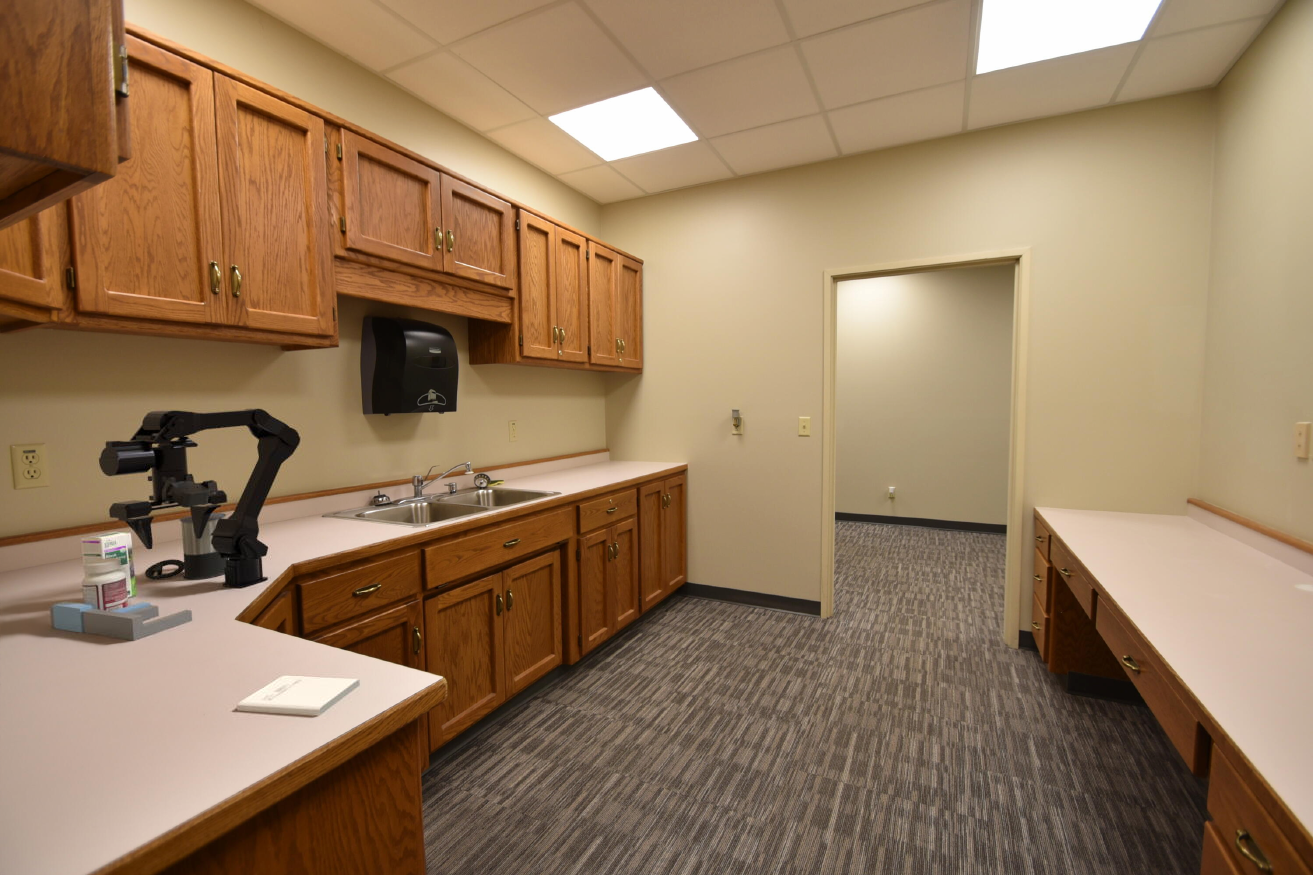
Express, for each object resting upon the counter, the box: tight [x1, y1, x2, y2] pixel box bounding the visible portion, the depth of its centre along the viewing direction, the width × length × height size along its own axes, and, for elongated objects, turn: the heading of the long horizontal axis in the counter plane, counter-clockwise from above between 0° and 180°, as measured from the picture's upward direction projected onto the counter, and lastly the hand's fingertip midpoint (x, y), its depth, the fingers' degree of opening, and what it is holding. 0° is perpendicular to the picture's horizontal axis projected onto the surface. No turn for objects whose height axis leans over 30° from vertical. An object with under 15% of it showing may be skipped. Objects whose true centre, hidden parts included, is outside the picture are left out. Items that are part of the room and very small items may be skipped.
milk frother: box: [144, 512, 228, 581], centre depth 137 cm, size 14×16×15 cm
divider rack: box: [49, 601, 193, 641], centre depth 107 cm, size 24×10×5 cm, turn 73°
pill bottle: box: [81, 558, 129, 611], centre depth 109 cm, size 6×6×11 cm
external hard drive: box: [236, 675, 361, 717], centre depth 78 cm, size 2×8×12 cm
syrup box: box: [80, 531, 137, 599], centre depth 120 cm, size 6×6×14 cm
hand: (175, 543), depth 117 cm, fingers open, 9 cm apart
